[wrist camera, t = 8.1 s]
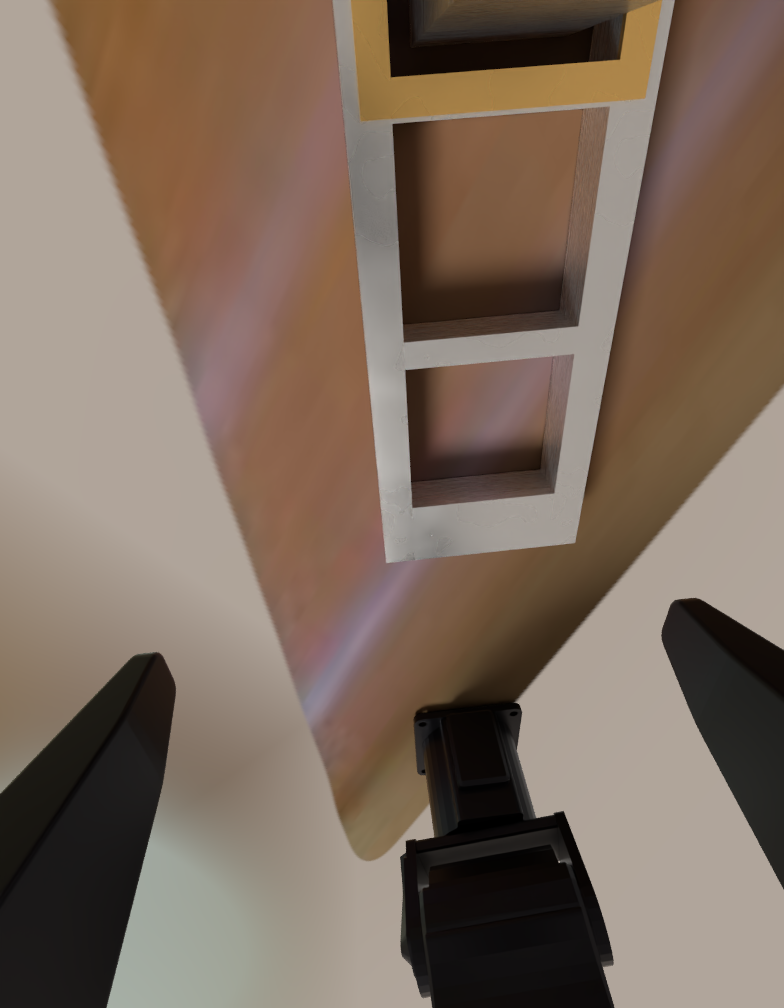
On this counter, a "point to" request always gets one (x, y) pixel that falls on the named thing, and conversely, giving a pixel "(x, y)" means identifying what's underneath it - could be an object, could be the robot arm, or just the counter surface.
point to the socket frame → (563, 334)
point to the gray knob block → (507, 19)
